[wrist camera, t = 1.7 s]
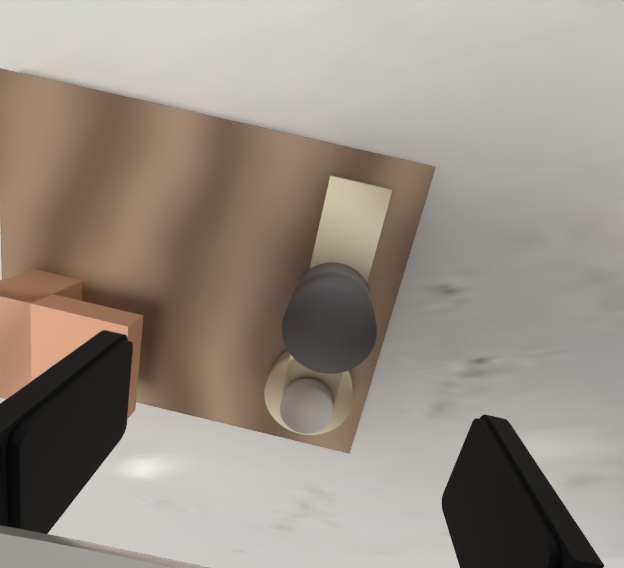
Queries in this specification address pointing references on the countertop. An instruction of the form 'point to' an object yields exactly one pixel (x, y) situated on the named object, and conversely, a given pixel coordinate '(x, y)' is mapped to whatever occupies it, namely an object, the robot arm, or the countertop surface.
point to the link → (333, 300)
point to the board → (192, 239)
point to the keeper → (54, 327)
